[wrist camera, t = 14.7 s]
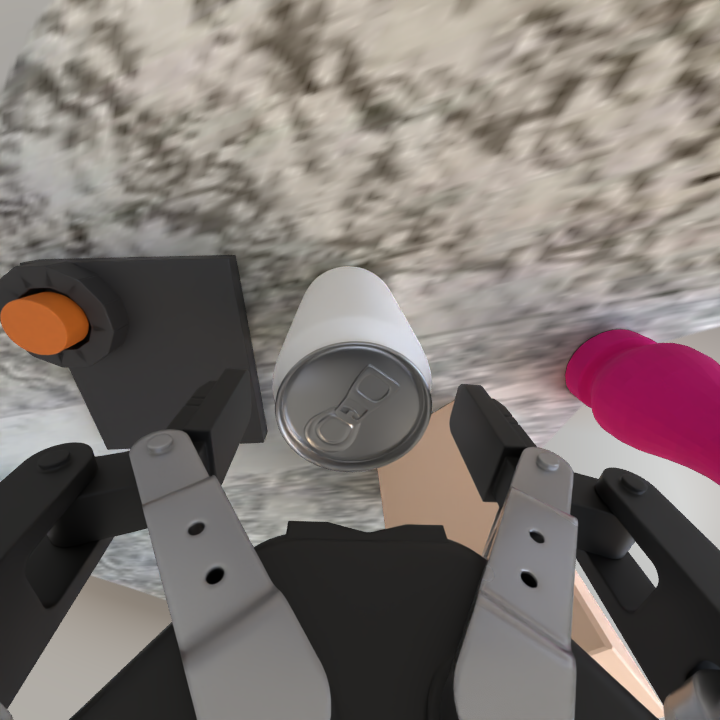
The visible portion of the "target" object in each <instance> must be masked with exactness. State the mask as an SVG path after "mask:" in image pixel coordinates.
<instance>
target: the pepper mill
mask: <svg viewBox="0 0 720 720" xmlns="http://www.w3.org/2000/svg"><path fill="white" fill-rule="evenodd" d="M565 378H566V385H567V387H568V389H569V391H570V392H571V393H572V394H573V395H574V396H576V397H577V398H578V399H579V400H580V401H582V402H583V403H584V404H585V405H587V406H588V407H590V408H592V412H593V415H594V417H595V419H596V420H597V422H598V423H599V425H600V426H601V427H602V428H603V429H604V430H605V431H607V432H608V433H610V434H611V435H613V436H614V437H615V438H617V439H618V440H620V441H621V442H623V443H625V444H627V445H629V446H632V447H634V448H636V449H638V450H641V451H644V452H646V453H649V454H653V455H656V456H658V457H662V458H665V459H668V460H670V461H673V462H675V463H678V464H681V465H683V466H686V467H688V468H690V469H692V470H694V471H696V472H698V473H700V474H702V475H704V476H706V477H708V478H710V479H711V480H713V481H714V482H716V483H717V484H718V485H720V365H719V364H718V363H717V362H716V361H715V360H713V359H712V358H710V357H708V356H707V355H704V354H703V353H701V352H699V351H697V350H695V349H693V348H690V347H688V346H685V345H680V344H675V343H656V342H655V341H653V340H651V339H649V338H647V337H645V336H642V335H640V334H638V333H636V332H633V331H630V330H623V329H617V330H610V331H606V332H603V333H600V334H598V335H596V336H595V337H593V338H591V339H589V340H588V341H586V342H585V343H584V344H583V345H581V346H580V347H579V349H578V350H577V351H576V352H575V353H574V354H573V356H572V358H571V359H570V361H569V363H568V365H567V369H566V373H565Z"/></svg>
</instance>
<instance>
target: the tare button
mask: <svg viewBox="0 0 720 720" xmlns="http://www.w3.org/2000/svg"><path fill="white" fill-rule="evenodd" d="M0 320H1V324H2V327H3V329H4V331H5V332H6V334H7V335H8V336H9V338H10V339H11V340H12V341H13V342H15V343H16V344H17V345H18V346H20V347H22V348H23V349H25V350H27V351H29V352H32V353H35V354H40V355H53V354H57V353H59V352H61V351H63V350H65V349H67V348H69V347H71V346H72V345H74V344H76V343H78V342H80V341H82V340H83V339H84V338H85V337H86V336H87V334H88V331H89V322H88V319H87V316H86V314H85V313H84V311H83V310H82V309H81V307H80V306H79V305H78V304H77V303H75V302H74V301H73V300H71V299H70V298H68V297H66V296H64V295H62V294H59V293H55V292H41V293H37V294H34V295H30V296H27V297H23V298H20V299H16V300H13V301H11V302H9V303H7V304H6V305H5V306H4V307H3V309H2V311H1V315H0Z"/></svg>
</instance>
